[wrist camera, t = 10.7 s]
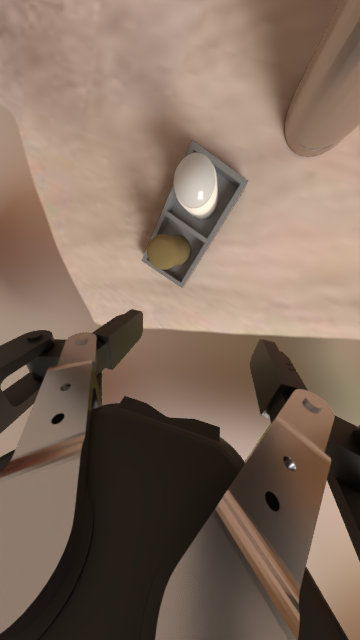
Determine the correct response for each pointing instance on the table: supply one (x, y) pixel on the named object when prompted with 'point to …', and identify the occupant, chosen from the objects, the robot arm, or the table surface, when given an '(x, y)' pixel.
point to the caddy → (193, 229)
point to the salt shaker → (196, 185)
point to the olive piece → (168, 251)
